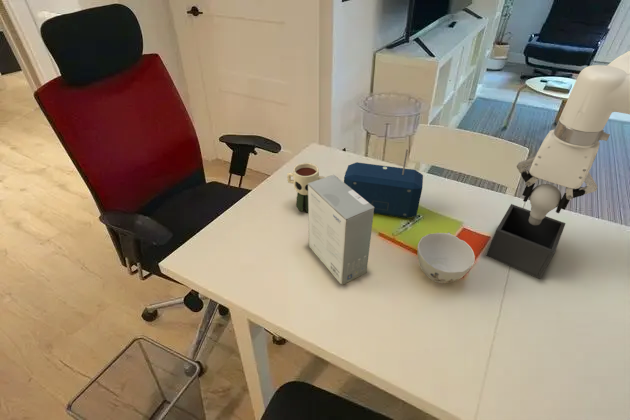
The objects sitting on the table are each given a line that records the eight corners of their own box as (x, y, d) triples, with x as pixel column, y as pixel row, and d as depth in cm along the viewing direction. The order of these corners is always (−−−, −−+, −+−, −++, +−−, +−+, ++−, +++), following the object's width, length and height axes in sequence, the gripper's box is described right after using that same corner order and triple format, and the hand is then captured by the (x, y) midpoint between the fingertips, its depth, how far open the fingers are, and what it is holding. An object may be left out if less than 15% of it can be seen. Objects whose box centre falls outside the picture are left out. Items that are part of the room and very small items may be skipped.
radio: (416, 203, 110) (429, 143, 98) (415, 221, 104) (428, 159, 91) (347, 193, 115) (351, 134, 102) (341, 210, 108) (345, 149, 95)
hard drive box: (367, 273, 89) (376, 208, 77) (341, 286, 86) (345, 220, 74) (332, 235, 100) (334, 173, 87) (307, 246, 96) (306, 182, 84)
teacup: (463, 302, 82) (472, 278, 77) (407, 285, 86) (412, 261, 81) (469, 257, 93) (478, 233, 88) (419, 243, 97) (425, 220, 92)
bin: (551, 249, 95) (565, 223, 90) (539, 279, 88) (554, 252, 82) (500, 229, 101) (511, 203, 96) (485, 255, 94) (496, 229, 88)
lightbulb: (549, 234, 85) (569, 196, 79) (521, 230, 87) (537, 192, 80) (544, 218, 90) (562, 180, 83) (517, 214, 91) (532, 176, 85)
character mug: (285, 212, 108) (283, 174, 99) (292, 197, 113) (290, 160, 105) (322, 217, 106) (323, 178, 98) (327, 202, 111) (328, 164, 103)
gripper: (630, 137, 72) (587, 210, 83) (534, 114, 80) (507, 183, 91) (626, 153, 67) (582, 228, 78) (525, 127, 75) (497, 198, 86)
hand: (542, 203), depth 85 cm, fingers closed on lightbulb, 6 cm apart
